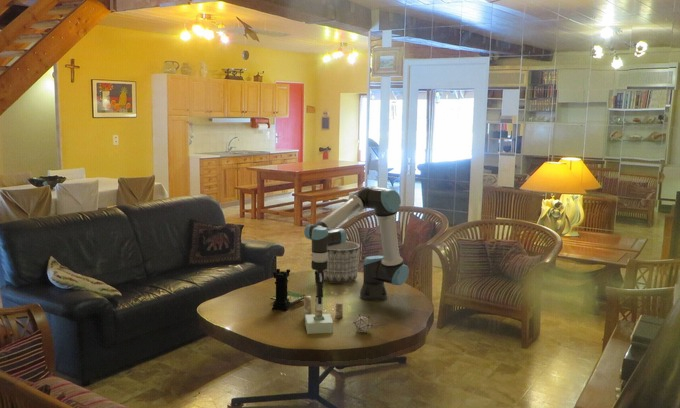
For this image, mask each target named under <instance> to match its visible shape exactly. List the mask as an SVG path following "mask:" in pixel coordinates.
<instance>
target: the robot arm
mask: <svg viewBox="0 0 680 408" xmlns="http://www.w3.org/2000/svg"><path fill="white" fill-rule="evenodd" d="M400 196H401V195H400V193H398V191H397V190H395V189H393V188H389V187H387V188H386V187H381V186H380V187H377V186H372V185H371V186H367V187H364V188H361V189H359V190H357V191H355V192H354V193H353V194H352V195H350V196H349V197H348V200H347V201H345V202H344V203H342V204H341V205H340V206H338V207H337V208H335V210H333V211H331V212H330V213H329V214H328V215H326V216H325V217H323V218H322V219H320V221H318V222H317V223H315V224H313V223H312V224H310V223H309V224H307V225H306V226H305V228H304V230H303V234H304V237H305V238H306V239H307V240H311V253H310V256H311V261H310V262H311V269H312V270H314V277H315V278H314V282H315V283H317V296H316V297H317V309H316V310H322V311H323V307H322V301H324V281H325V280H324V273H323V272H322V271H323V270H326V269H327V264H328V262H327V260H328V247H329V246H334V245H339V244H342V243H344V242H345V241H347V238H348V234H347V231H346V230H345V229H344V228H338V227H339V226H340V225H342V224H343V223H344V222H346V221H347V220H348V219H349V218H350V217H353V216H354V215H355V214H356V213H357V212H362V211H363V210H365V209H371V210H374V215H375V216H376V217H377V218H378V224H379V232H380V238H381V247H382V255H369V256H366V257H365V258H364V259H363V284H362V286H361V289H360V291H359V292H360V293H359V298H361V299H362V300H365V301H371V302H372V301H373V302H378V301H384V300H386V299H387V298H388V292H387V288H386V285H385V283H387V284H389V285H390V284H391V285H393V286H402V285H404V283H405V282H406V281H407V280H408V277H409V274H410V273H409V272H410V270H409V266H408V265H406V264H404V259H403V257H401V256H400V250H399V242H398V241H399V240H398V232H397V230H398V229H397V222H396V215H397V214H398V211H399V210H400V207H401V206H400V205H401V202H402V201H401V197H400Z"/></svg>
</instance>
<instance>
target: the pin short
mask: <svg viewBox="0 0 680 408" xmlns="http://www.w3.org/2000/svg"><path fill="white" fill-rule="evenodd" d="M343 309H344V304H343V302H340V301H339V302H335V318H337V319H342V318H343Z"/></svg>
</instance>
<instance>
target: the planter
mask: <svg viewBox="0 0 680 408" xmlns="http://www.w3.org/2000/svg"><path fill="white" fill-rule="evenodd" d="M360 248H361V245H360V244H359V243H357V242H354V241H349V240H346V241H345V242H344V243H342V244H339V245H334V246H329V247H328V260H327V262H328V264H327V269H326V270H323V271H322V272H323V273H324V281H326V282H327V281H328V283H330V282H331V283H332V284H345V283H346V284H347V283H349V282H350V281H354V280H356V279H357V278H358V272H359V260H360V259H359V258H360ZM331 283H330V284H331Z"/></svg>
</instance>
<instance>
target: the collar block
mask: <svg viewBox="0 0 680 408" xmlns="http://www.w3.org/2000/svg"><path fill="white" fill-rule="evenodd" d="M333 321H334V320H333V319H332V316H331V313H322V317H315V313H314V314H313V313H311V315H305V319H304V325H305V329H306V333H307V335H308V334H309V335H311V334H312V335H313V334H331V333H334V322H333Z"/></svg>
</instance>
